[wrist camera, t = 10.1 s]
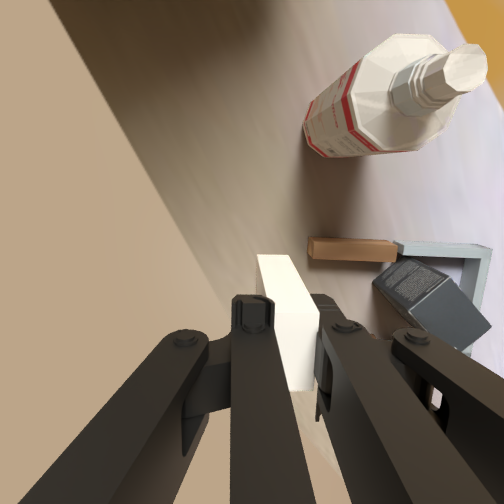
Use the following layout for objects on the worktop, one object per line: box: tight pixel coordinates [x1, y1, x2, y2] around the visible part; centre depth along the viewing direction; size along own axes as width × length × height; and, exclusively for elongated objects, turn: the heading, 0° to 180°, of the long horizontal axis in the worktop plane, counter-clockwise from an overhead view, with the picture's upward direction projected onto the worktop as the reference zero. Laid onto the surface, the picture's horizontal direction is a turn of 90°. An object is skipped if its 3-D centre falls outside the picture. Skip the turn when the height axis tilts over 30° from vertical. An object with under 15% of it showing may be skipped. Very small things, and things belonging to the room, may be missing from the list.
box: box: [373, 255, 492, 352], centre depth 43 cm, size 8×6×11 cm
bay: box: [387, 241, 493, 357], centre depth 47 cm, size 15×11×3 cm
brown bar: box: [307, 237, 398, 339], centre depth 46 cm, size 15×10×4 cm, turn 177°
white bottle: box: [302, 34, 488, 158], centre depth 31 cm, size 8×8×25 cm
